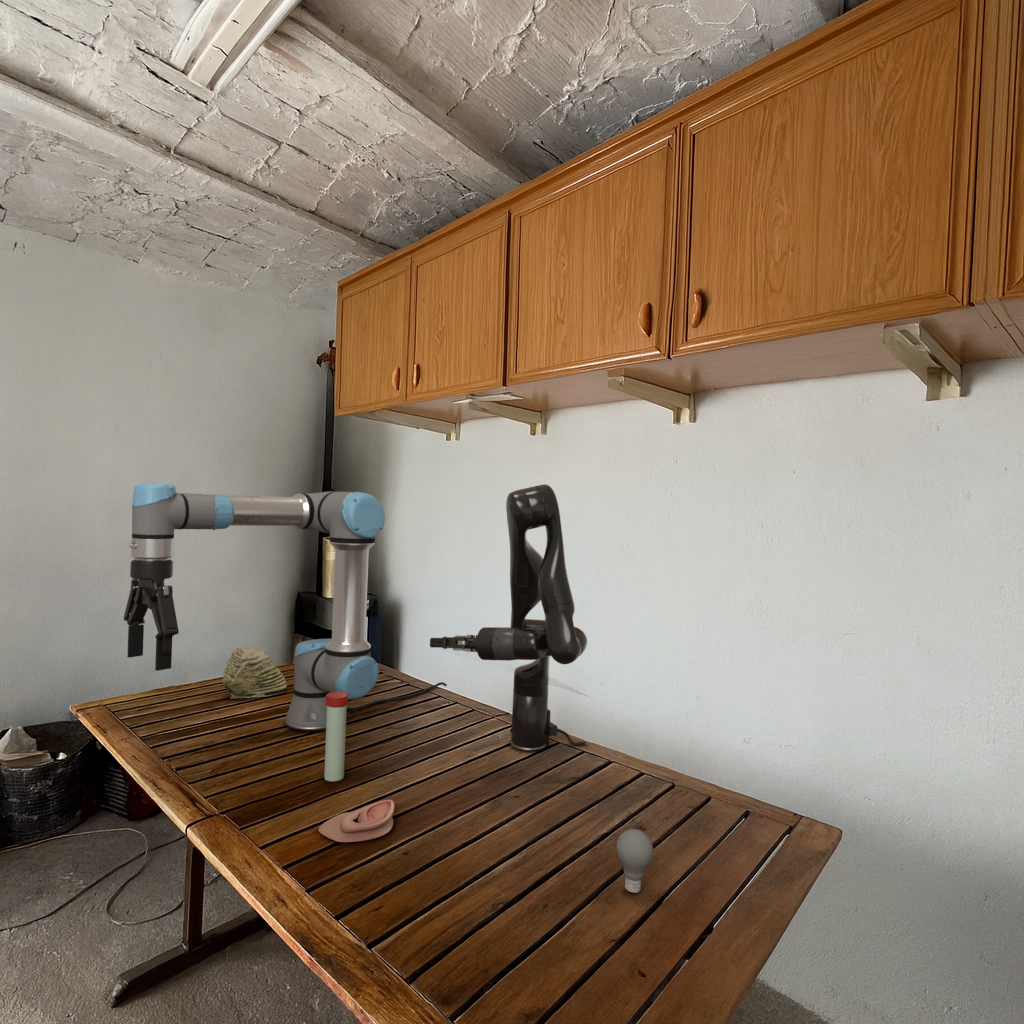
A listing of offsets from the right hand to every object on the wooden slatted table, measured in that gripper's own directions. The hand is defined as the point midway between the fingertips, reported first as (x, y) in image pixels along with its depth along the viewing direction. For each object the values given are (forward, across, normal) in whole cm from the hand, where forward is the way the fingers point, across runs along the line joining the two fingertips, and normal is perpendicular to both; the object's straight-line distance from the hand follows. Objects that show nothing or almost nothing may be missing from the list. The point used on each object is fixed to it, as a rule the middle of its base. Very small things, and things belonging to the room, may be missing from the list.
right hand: (439, 643), depth 153 cm
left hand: (+43, +44, +5) cm, 62 cm away
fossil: (+77, -20, +16) cm, 81 cm away
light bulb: (-51, +21, +41) cm, 68 cm away
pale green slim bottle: (+19, +12, +30) cm, 38 cm away
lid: (+17, +16, +12) cm, 26 cm away
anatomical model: (+1, +27, +36) cm, 45 cm away
